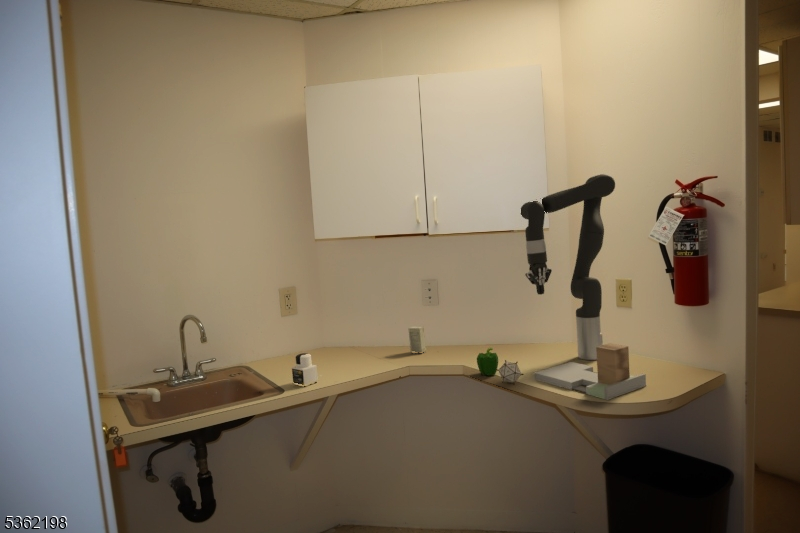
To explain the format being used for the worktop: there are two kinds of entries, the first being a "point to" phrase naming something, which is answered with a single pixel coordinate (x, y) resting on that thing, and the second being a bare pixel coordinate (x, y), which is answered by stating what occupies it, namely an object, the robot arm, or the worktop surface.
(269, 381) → the worktop surface
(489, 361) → the bell pepper
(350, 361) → the worktop surface
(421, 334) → the skincare box
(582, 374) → the board
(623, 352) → the walnut block
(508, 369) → the game die
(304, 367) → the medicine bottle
